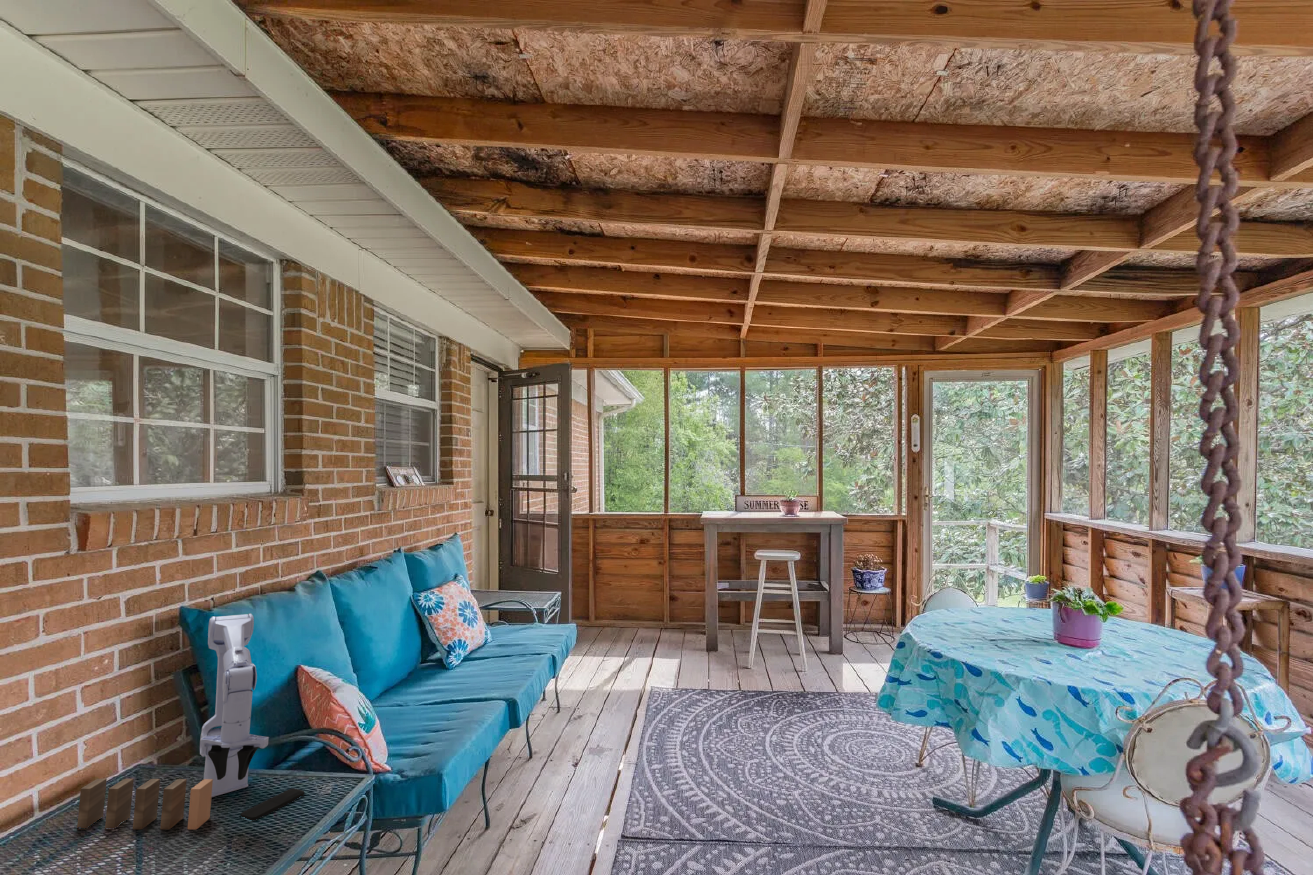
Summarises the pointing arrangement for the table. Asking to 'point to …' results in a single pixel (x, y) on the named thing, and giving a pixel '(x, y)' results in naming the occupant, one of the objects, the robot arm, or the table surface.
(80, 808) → the domino
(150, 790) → the domino
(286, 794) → the remote control
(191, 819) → the domino
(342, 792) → the table surface
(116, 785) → the domino
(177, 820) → the domino
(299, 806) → the table surface
